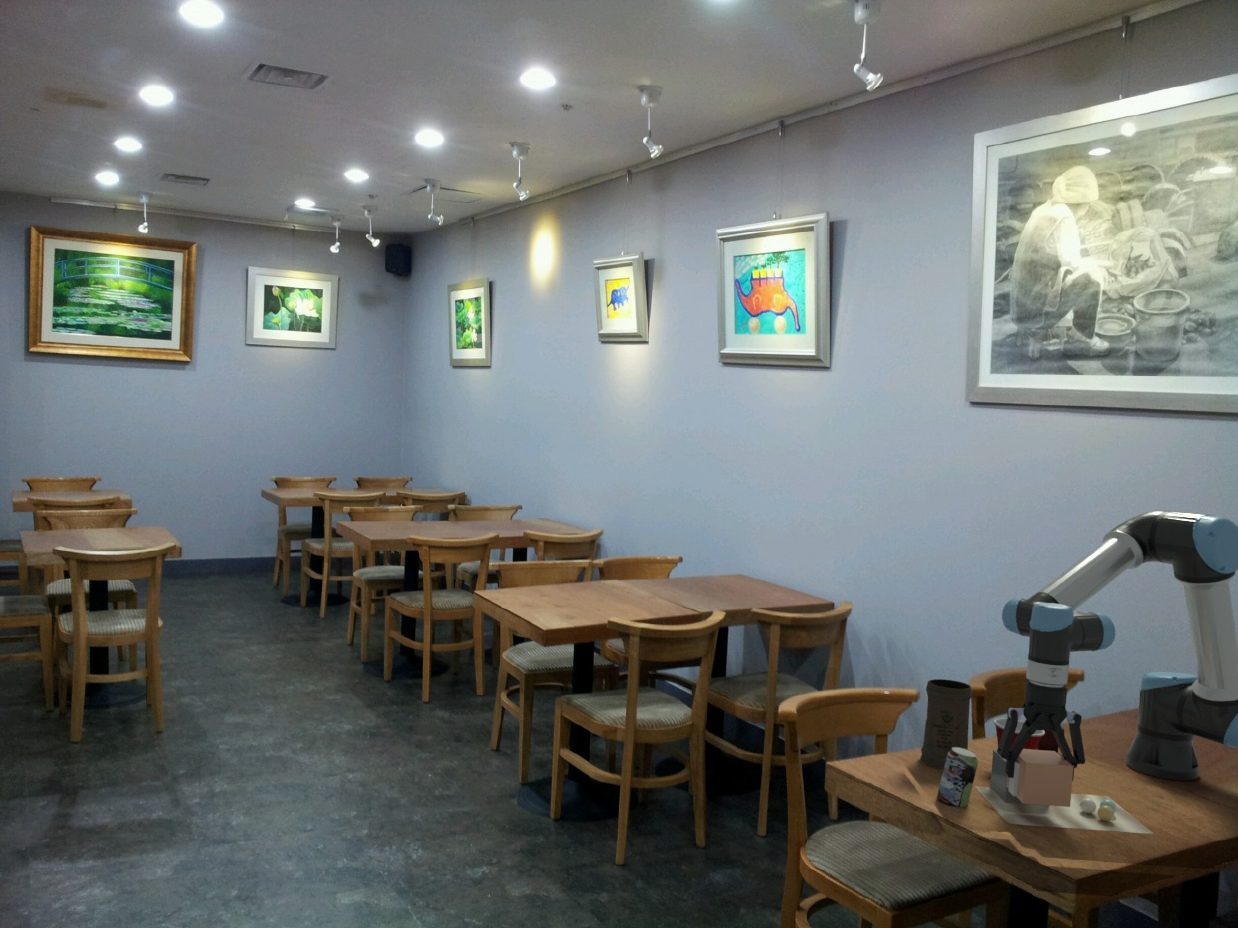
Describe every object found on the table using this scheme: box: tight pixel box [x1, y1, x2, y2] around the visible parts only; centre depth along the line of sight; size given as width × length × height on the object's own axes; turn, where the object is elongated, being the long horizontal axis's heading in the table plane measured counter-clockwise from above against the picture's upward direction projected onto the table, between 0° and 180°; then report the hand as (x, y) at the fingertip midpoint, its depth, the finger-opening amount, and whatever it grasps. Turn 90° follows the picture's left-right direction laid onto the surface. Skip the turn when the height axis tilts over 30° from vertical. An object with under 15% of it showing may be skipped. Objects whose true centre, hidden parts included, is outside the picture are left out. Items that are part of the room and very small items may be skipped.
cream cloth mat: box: [974, 786, 1155, 835], centre depth 203 cm, size 28×20×1 cm
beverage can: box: [936, 747, 979, 808], centre depth 203 cm, size 6×7×12 cm
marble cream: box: [1080, 798, 1096, 814], centre depth 201 cm, size 3×3×3 cm
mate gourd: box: [1037, 722, 1065, 753], centre depth 244 cm, size 8×8×15 cm
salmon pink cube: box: [1007, 749, 1074, 807], centre depth 197 cm, size 9×9×8 cm
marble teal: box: [1100, 799, 1116, 813], centre depth 201 cm, size 3×3×3 cm
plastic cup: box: [993, 717, 1045, 750], centre depth 225 cm, size 11×11×12 cm
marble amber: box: [1098, 805, 1114, 821], centre depth 198 cm, size 3×3×3 cm
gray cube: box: [989, 749, 1050, 806], centre depth 209 cm, size 9×9×8 cm
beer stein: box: [919, 678, 973, 771], centre depth 230 cm, size 15×11×20 cm
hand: (1037, 795), depth 197 cm, fingers closed on salmon pink cube, 9 cm apart
